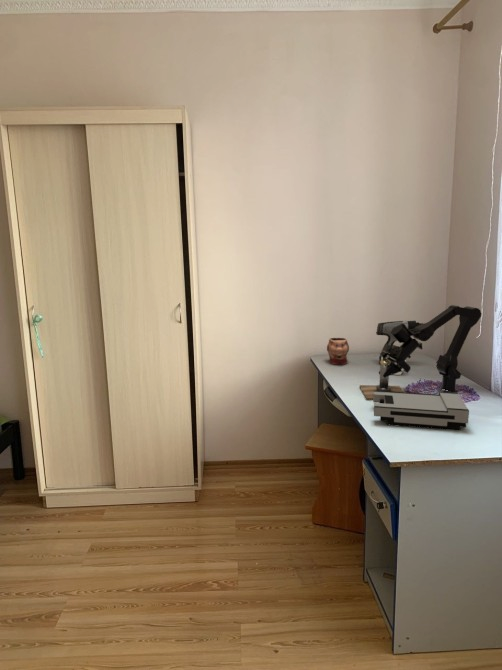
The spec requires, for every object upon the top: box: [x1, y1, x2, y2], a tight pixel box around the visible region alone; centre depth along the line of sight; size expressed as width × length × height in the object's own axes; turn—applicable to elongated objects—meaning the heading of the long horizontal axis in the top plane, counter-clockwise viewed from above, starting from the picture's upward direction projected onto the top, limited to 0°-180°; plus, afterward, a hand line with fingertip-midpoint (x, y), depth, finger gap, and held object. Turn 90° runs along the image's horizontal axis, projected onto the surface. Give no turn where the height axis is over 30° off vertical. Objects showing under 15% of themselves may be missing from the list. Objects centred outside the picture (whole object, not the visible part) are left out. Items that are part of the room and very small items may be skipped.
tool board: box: [359, 384, 406, 401], centre depth 205 cm, size 18×18×1 cm
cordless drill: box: [375, 320, 424, 365], centre depth 254 cm, size 8×24×25 cm, turn 78°
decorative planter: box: [326, 337, 350, 365], centre depth 261 cm, size 20×12×14 cm, turn 2°
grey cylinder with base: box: [376, 360, 391, 391], centre depth 204 cm, size 6×6×13 cm
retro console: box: [372, 390, 470, 431], centre depth 176 cm, size 21×32×8 cm, turn 76°
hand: (381, 375), depth 204 cm, fingers closed on grey cylinder with base, 4 cm apart
